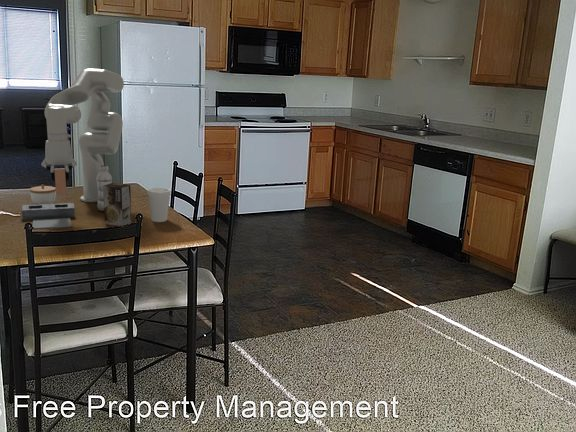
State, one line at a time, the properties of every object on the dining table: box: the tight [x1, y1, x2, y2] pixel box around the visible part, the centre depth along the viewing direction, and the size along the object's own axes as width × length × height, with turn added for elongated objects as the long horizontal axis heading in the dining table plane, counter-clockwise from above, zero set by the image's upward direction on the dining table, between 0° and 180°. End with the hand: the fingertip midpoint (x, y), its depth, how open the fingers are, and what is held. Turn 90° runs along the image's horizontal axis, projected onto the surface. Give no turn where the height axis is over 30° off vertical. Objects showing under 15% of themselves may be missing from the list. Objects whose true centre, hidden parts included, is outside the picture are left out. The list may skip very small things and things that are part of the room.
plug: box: [54, 167, 67, 195], centre depth 238 cm, size 4×4×10 cm
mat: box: [32, 217, 72, 230], centre depth 228 cm, size 14×12×1 cm
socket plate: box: [21, 202, 76, 221], centre depth 239 cm, size 20×9×4 cm, turn 112°
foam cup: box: [146, 187, 172, 223], centre depth 240 cm, size 10×9×13 cm
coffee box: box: [103, 182, 132, 227], centre depth 231 cm, size 9×6×16 cm
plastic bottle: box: [96, 164, 113, 212], centre depth 249 cm, size 6×7×20 cm
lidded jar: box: [29, 184, 57, 205], centre depth 254 cm, size 11×11×9 cm
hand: (60, 180), depth 238 cm, fingers closed on plug, 4 cm apart
